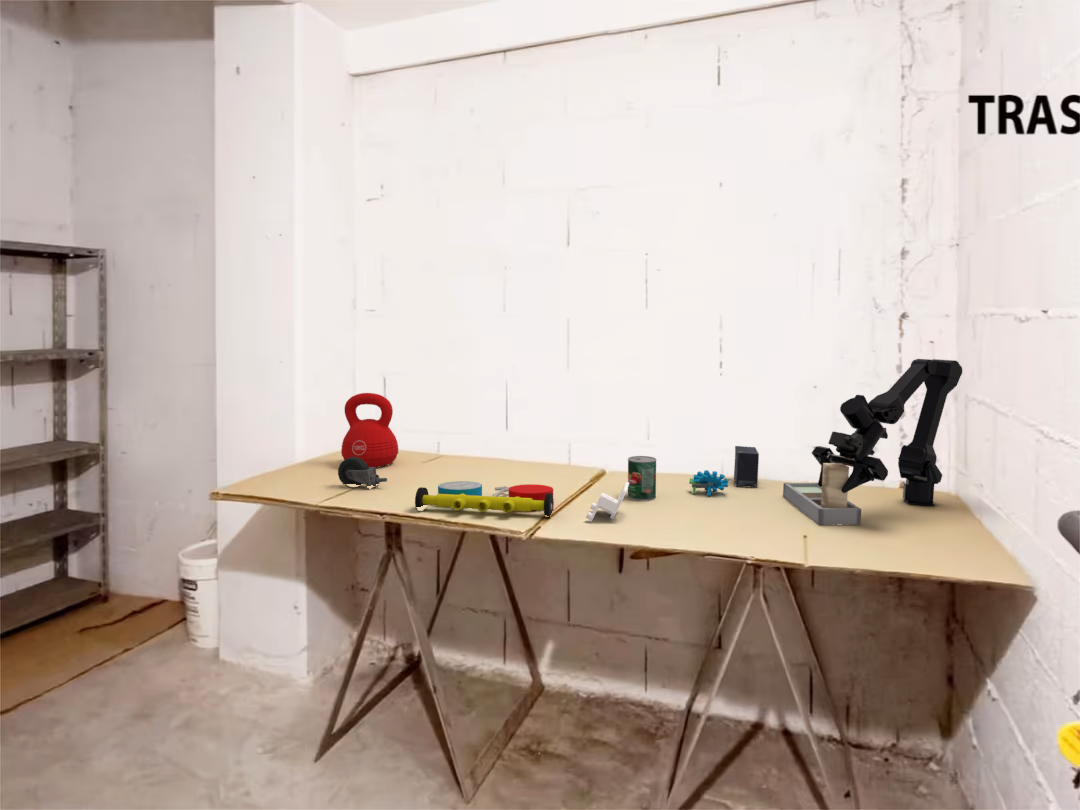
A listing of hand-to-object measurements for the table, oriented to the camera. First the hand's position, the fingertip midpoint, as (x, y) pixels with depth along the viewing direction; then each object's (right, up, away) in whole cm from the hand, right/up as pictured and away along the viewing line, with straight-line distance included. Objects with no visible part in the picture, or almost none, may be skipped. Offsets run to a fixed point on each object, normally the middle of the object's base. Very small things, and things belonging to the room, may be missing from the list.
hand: (830, 488), depth 170 cm
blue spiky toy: (-23, -5, +28) cm, 36 cm away
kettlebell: (-130, 0, +68) cm, 147 cm away
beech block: (+1, -5, +1) cm, 5 cm away
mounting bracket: (-54, -8, +6) cm, 55 cm away
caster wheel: (-125, -4, +37) cm, 130 cm away
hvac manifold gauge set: (-85, -7, +18) cm, 87 cm away
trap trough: (+1, -7, +11) cm, 13 cm away
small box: (-9, -3, +39) cm, 40 cm away
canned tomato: (-43, -6, +24) cm, 50 cm away
